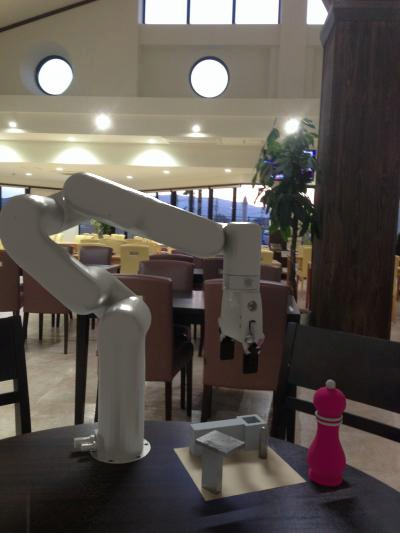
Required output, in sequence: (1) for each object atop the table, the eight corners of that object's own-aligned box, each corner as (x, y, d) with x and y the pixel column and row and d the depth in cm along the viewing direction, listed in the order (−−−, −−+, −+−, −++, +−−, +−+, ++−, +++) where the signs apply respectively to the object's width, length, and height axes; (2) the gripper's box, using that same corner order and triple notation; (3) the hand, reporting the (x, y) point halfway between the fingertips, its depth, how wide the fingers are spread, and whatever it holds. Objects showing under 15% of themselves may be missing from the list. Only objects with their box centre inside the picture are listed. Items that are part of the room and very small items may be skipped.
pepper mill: (347, 496, 81) (353, 388, 79) (306, 490, 82) (311, 384, 81) (342, 475, 88) (348, 375, 86) (304, 470, 89) (310, 372, 88)
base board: (205, 507, 76) (205, 500, 76) (173, 454, 94) (173, 448, 94) (306, 487, 83) (306, 481, 83) (258, 441, 101) (258, 436, 101)
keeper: (213, 477, 85) (215, 430, 85) (242, 492, 81) (245, 442, 80) (193, 489, 81) (195, 439, 80) (223, 506, 76) (226, 453, 76)
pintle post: (260, 465, 90) (262, 429, 90) (256, 461, 92) (258, 426, 91) (268, 464, 91) (270, 428, 90) (264, 460, 93) (265, 425, 92)
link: (195, 459, 90) (196, 432, 89) (187, 447, 94) (188, 422, 94) (266, 448, 95) (267, 423, 95) (255, 437, 100) (256, 414, 100)
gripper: (281, 288, 84) (276, 377, 85) (236, 278, 100) (233, 353, 101) (246, 289, 81) (242, 381, 82) (206, 279, 97) (203, 356, 98)
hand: (237, 366), depth 92 cm, fingers open, 9 cm apart
